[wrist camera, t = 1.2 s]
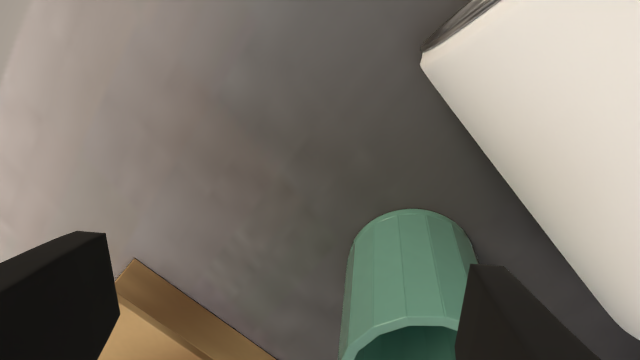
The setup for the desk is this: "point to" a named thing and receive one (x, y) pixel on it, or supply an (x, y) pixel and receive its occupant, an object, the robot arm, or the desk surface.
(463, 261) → the tub
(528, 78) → the can
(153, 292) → the wooden block
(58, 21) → the desk surface
